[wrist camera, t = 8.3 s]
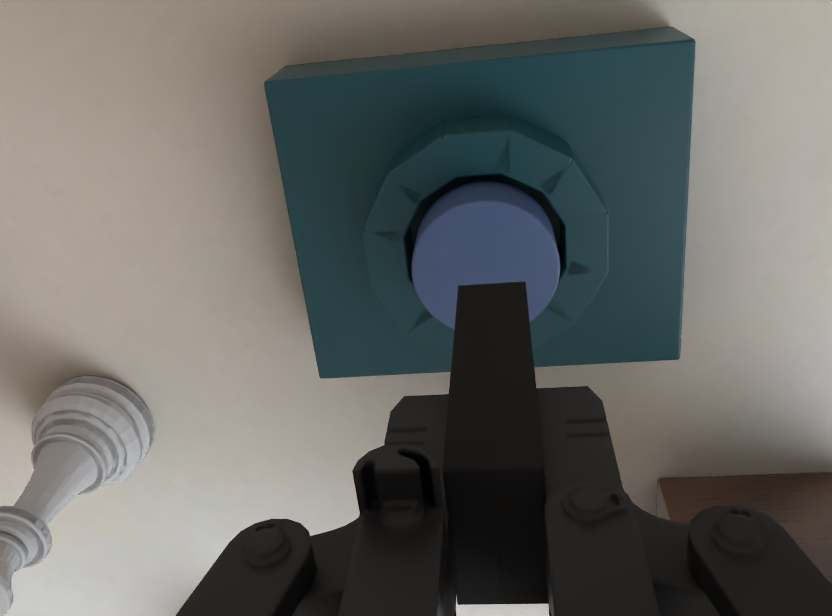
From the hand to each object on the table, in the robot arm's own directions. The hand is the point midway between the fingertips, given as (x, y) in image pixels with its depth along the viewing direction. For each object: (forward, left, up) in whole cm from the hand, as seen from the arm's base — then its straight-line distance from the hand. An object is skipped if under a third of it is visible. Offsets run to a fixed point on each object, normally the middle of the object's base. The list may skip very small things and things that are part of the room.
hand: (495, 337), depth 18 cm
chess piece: (+16, +8, -10) cm, 20 cm away
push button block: (0, 0, -9) cm, 9 cm away
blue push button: (0, 0, -5) cm, 5 cm away
